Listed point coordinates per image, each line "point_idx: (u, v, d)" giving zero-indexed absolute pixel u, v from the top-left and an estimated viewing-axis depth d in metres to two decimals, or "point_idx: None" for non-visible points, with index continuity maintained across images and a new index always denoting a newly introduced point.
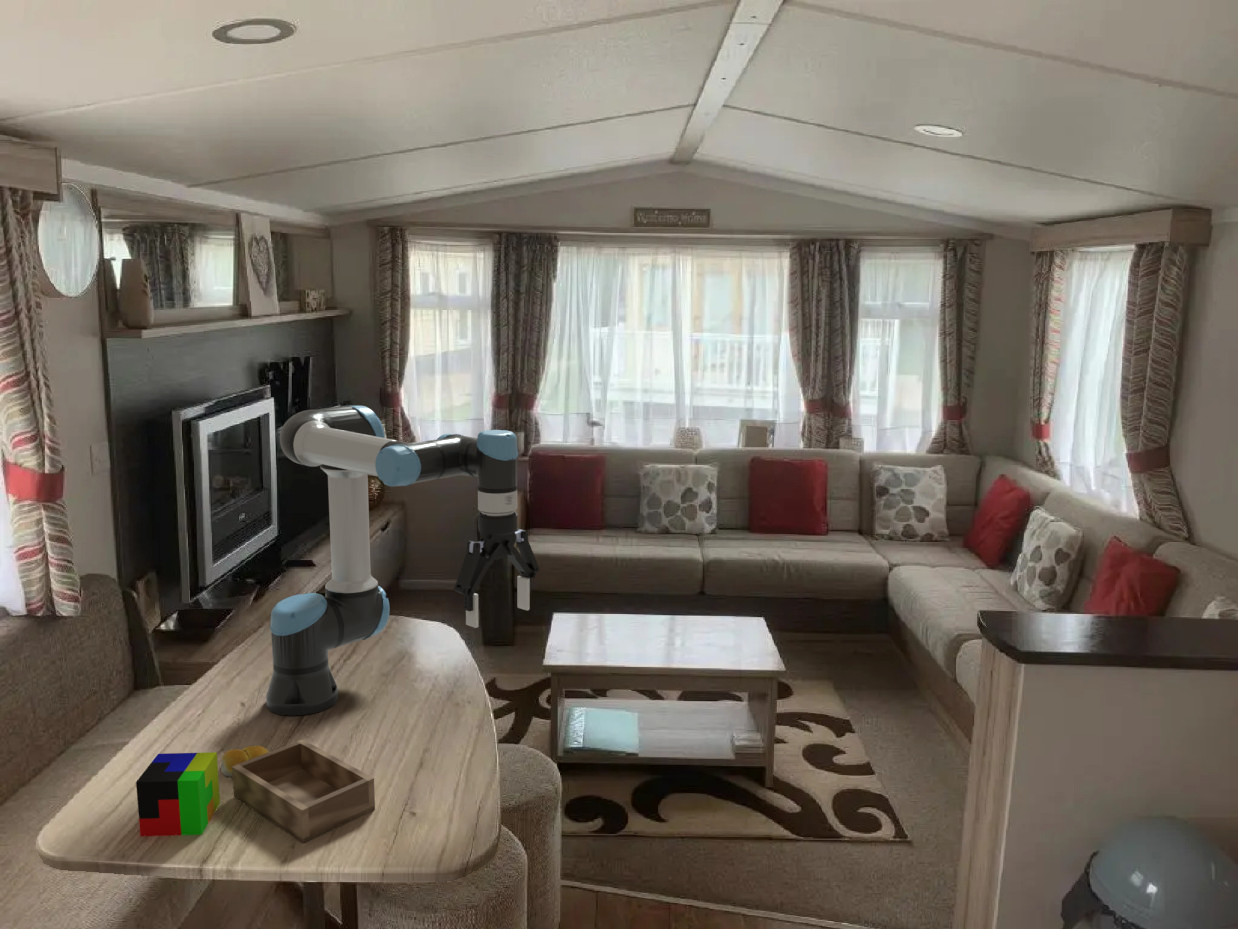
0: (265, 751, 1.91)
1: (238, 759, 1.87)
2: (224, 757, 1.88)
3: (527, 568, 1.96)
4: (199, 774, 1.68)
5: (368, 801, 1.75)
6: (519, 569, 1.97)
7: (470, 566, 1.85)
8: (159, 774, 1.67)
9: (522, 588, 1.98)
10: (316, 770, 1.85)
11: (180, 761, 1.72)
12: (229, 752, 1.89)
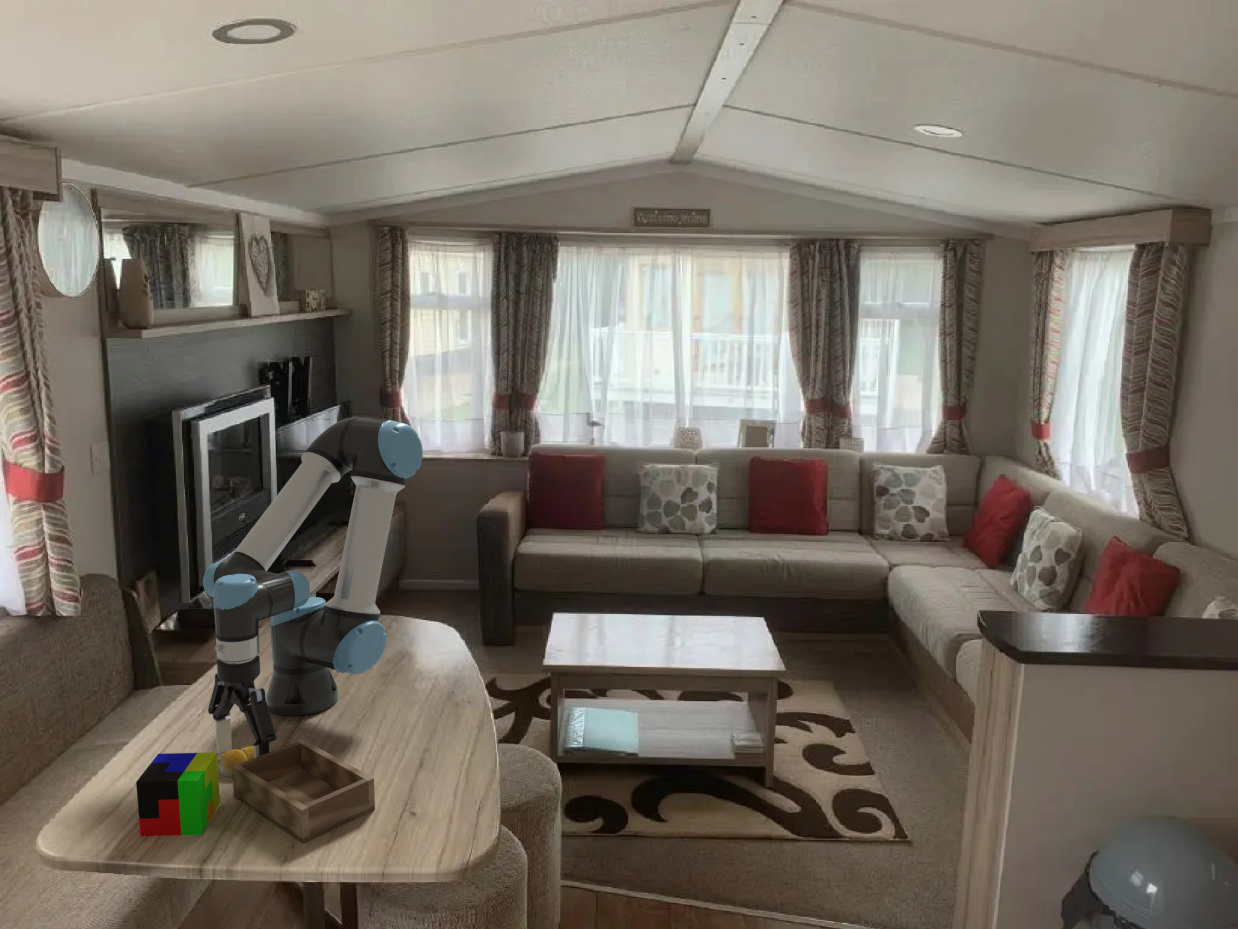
0: None
1: (237, 759, 1.87)
2: (223, 757, 1.88)
3: (254, 733, 1.83)
4: (199, 774, 1.68)
5: (368, 801, 1.75)
6: None
7: None
8: (159, 774, 1.67)
9: None
10: (316, 770, 1.85)
11: (180, 761, 1.72)
12: (228, 752, 1.89)
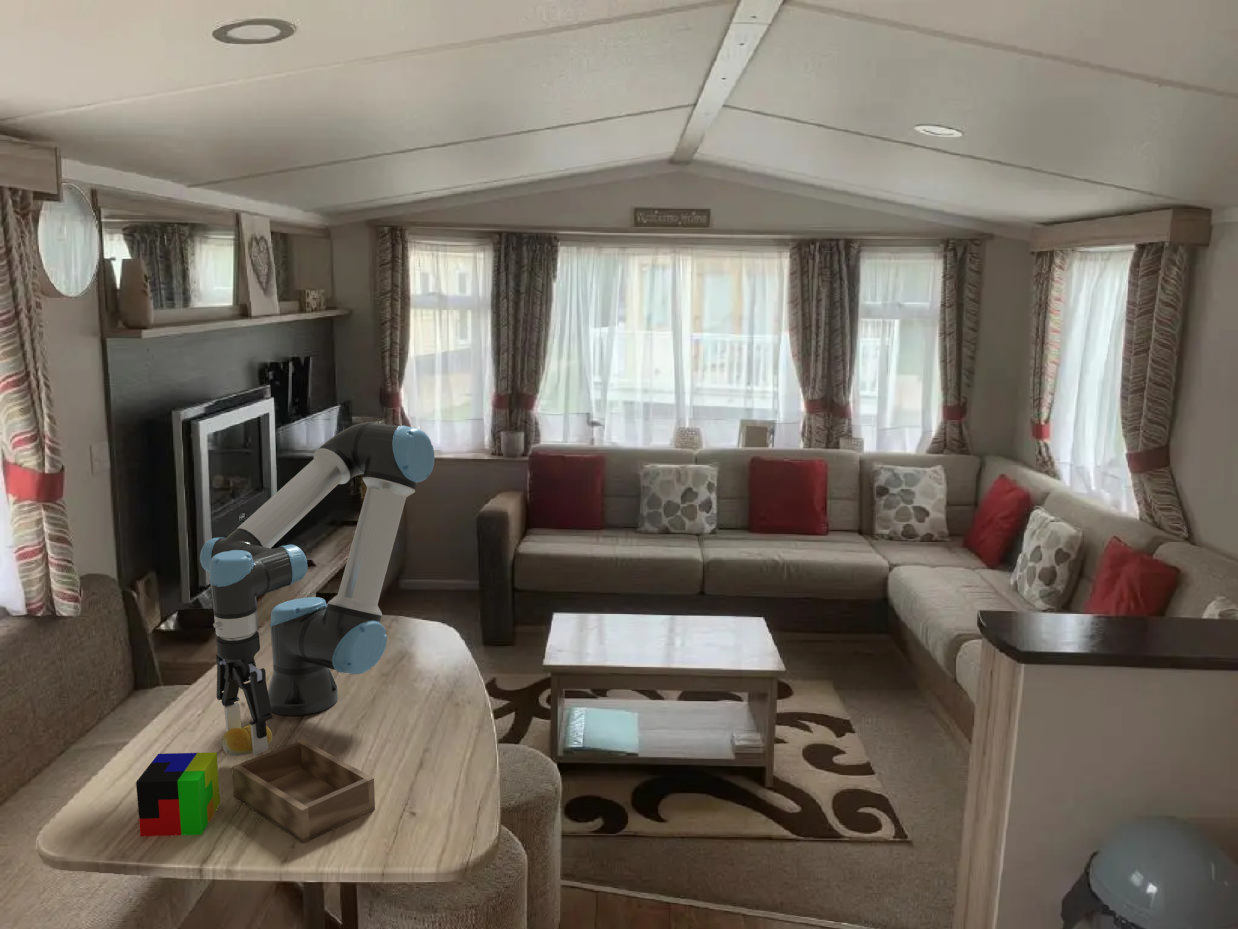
0: (266, 729, 1.91)
1: (240, 738, 1.87)
2: (225, 736, 1.88)
3: (252, 712, 1.84)
4: (199, 774, 1.68)
5: (368, 801, 1.75)
6: None
7: None
8: (158, 774, 1.67)
9: None
10: (316, 770, 1.85)
11: (180, 761, 1.72)
12: (230, 731, 1.89)
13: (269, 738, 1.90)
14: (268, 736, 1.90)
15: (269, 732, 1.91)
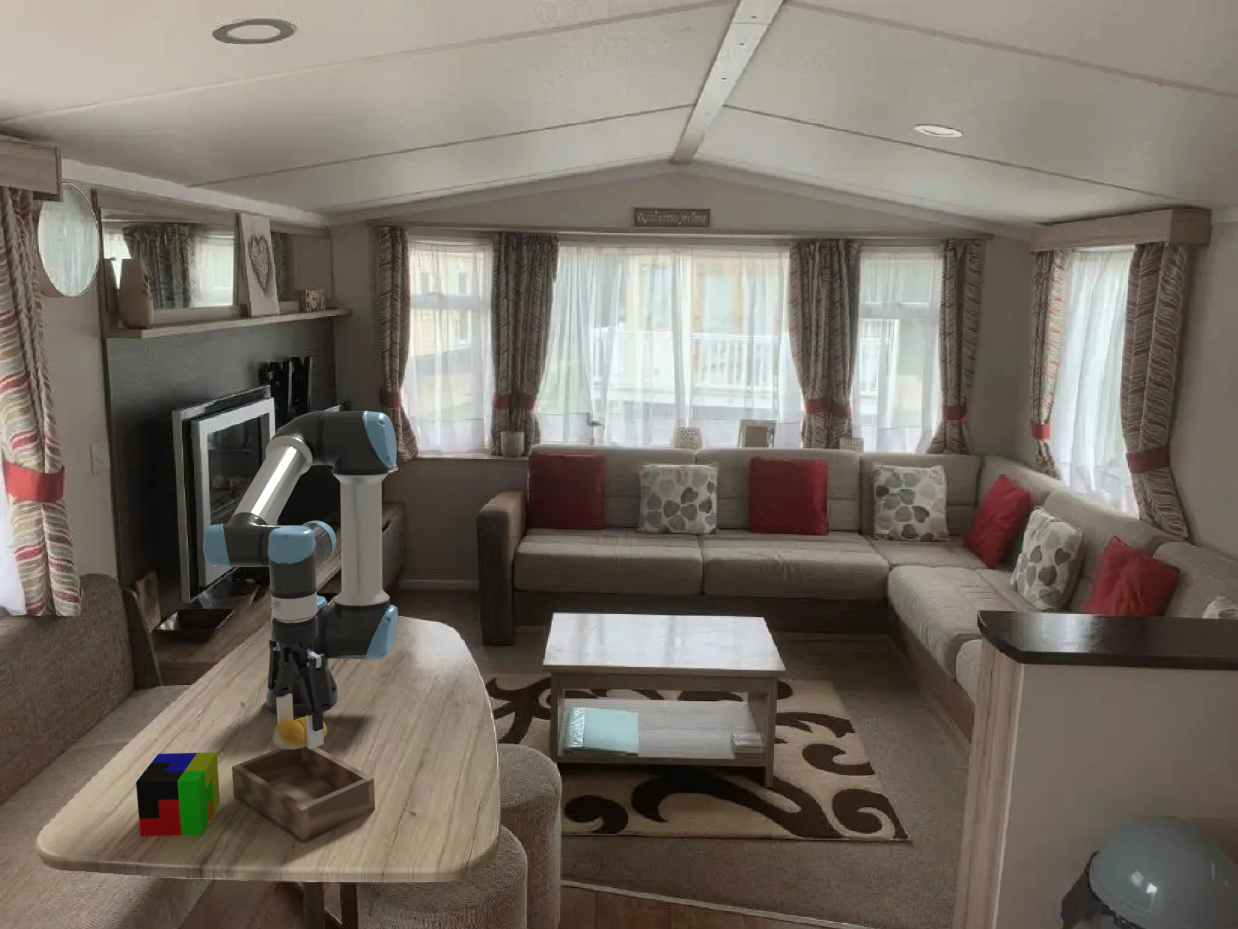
0: None
1: (293, 730, 1.72)
2: (277, 728, 1.73)
3: (308, 701, 1.70)
4: (199, 774, 1.68)
5: (368, 801, 1.75)
6: None
7: None
8: (158, 774, 1.67)
9: None
10: (316, 770, 1.85)
11: (180, 761, 1.72)
12: (282, 722, 1.74)
13: (324, 731, 1.75)
14: (323, 729, 1.75)
15: (324, 725, 1.76)
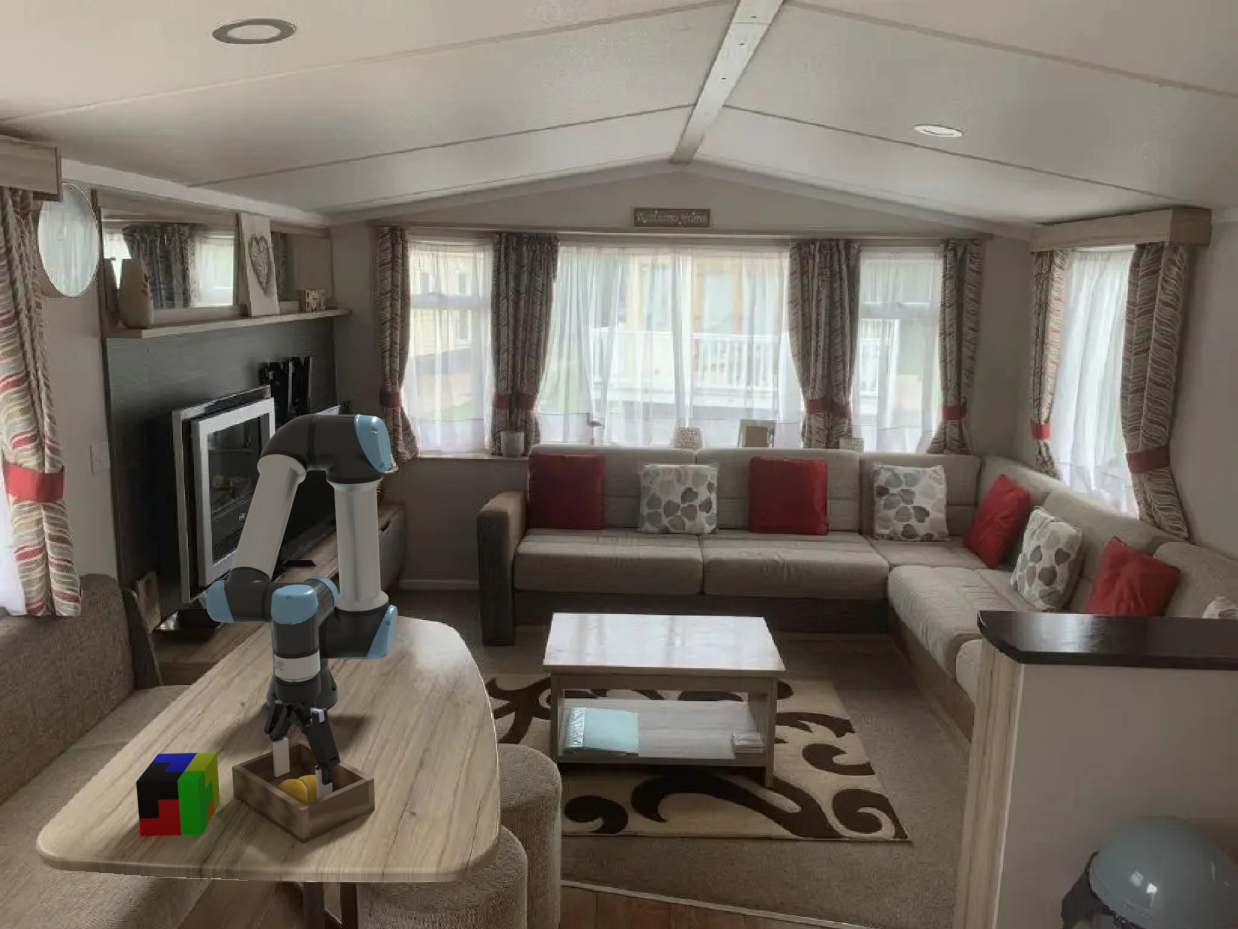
0: None
1: (296, 791, 1.74)
2: (280, 788, 1.75)
3: (316, 756, 1.70)
4: (199, 774, 1.68)
5: (368, 801, 1.75)
6: None
7: None
8: (158, 774, 1.67)
9: None
10: None
11: (180, 761, 1.72)
12: (285, 782, 1.76)
13: None
14: None
15: None
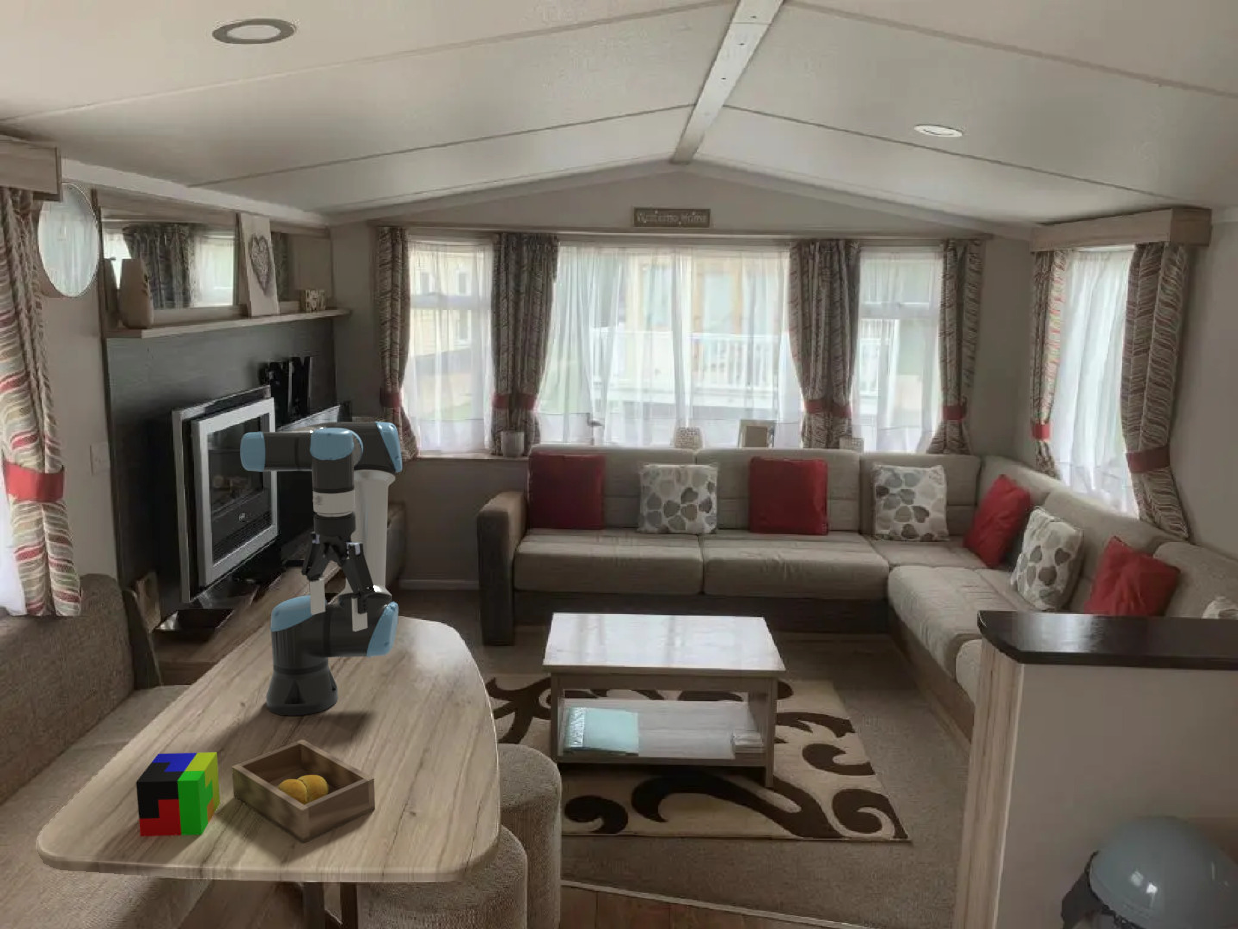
0: (323, 781, 1.78)
1: (296, 791, 1.74)
2: (280, 788, 1.75)
3: (353, 586, 1.81)
4: (199, 773, 1.68)
5: (368, 801, 1.75)
6: None
7: None
8: (159, 774, 1.67)
9: None
10: (316, 770, 1.85)
11: (180, 761, 1.72)
12: (285, 783, 1.76)
13: (326, 791, 1.77)
14: (325, 789, 1.77)
15: (326, 784, 1.78)
